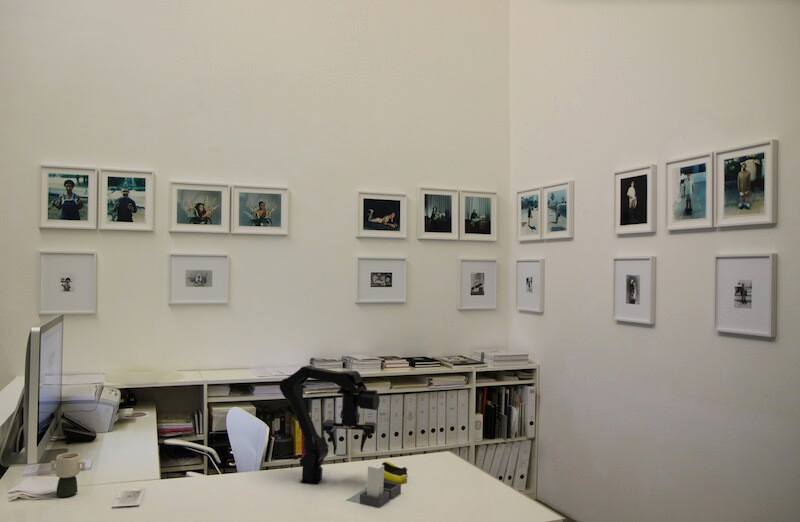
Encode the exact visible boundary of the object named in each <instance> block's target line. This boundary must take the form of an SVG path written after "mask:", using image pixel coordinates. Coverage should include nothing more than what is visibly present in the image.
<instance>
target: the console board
mask: <svg viewBox="0 0 800 522" xmlns="http://www.w3.org/2000/svg"><path fill="white" fill-rule="evenodd" d="M401 494H402V484H396V483H391V482H386V481H384V485H383V495H381V496H380V497H374V496H370V495H367V487H366V488H364V489H362V490H361V491H359V492H357V493H356V494H353V495H352V496H351V497H349V498H347V499H345V501H346V502H350V503H355V504H359V505H364V506H368V507H371V508H378V509H380V508H382V507H384V506H385V505H386V504H388V503H390V502H391V501H392V500H394V499H395V498H396V497H398V496H399V495H401Z"/></svg>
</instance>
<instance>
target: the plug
mask: <svg viewBox="0 0 800 522" xmlns="http://www.w3.org/2000/svg"><path fill="white" fill-rule="evenodd" d="M366 477H367V479H366V480H367V483H366V484H367V485H366V488H367V495H370V496H374V497H380V496H381V495H383V485H384V465H382V464H379V463H375V462H373V463H372V464H369V465H368V466H367V476H366Z"/></svg>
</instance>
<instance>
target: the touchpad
mask: <svg viewBox="0 0 800 522" xmlns="http://www.w3.org/2000/svg"><path fill="white" fill-rule="evenodd" d="M145 490H146V488H137V489H135V488H134V489H120V490H119V492H118V494H117V497H116V499H115V501H114V503H113V505H112V507H113V508H114V507H115V508H116V507H128V506H140V504H141V501H142V500H143V496H144V493H145Z"/></svg>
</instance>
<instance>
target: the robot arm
mask: <svg viewBox="0 0 800 522" xmlns="http://www.w3.org/2000/svg"><path fill="white" fill-rule="evenodd" d="M308 379H312V380H318V381H322V382H327V383H332V384H335V385H336V386H338V387H340V389H338V390H337V392H336V394H340V395H342V399H341V400H342V401H341V403H342V405H341V411H340V415H339V416H340V419H341V422H337V420H336V419H326V420H325V421H323V423H322V426H321V430H322V431H323V432H325V434H328V435H329V438H330V440H331V444H332V445H333V447H334V451H337V449H338V441H337V429H339V430H340V429H341V430H342V429H343V430H354V431H355V430H356V431H363V432H362V434H361V441H360V452H361V453H362V452H363V449H364V446H365V443H366V441H367V439H368V437H370V436H372V435H373V434H375V433H376V431H377V423H376V422H374V421H373V422H372V421H365V422H364V424H361V423H360V417H361V416H360V415H361V414H360V413H359V409H364V410H370V411H371V410H372V411H377V410H378V409H379V407H380V400H381V399H380V396H379V394H378V390H376V389H371V390H370V389H368V388H367V386H366V384H365V383H364V381H363V379H362V375H361V374H360V372H359V371H357V370H344V371H343V370H342V371H341V370H340V371H338V370H332V369H326V368H322V367H321V368H320V367H314V366H311V365H305V366H302V367H300V368H299V369H298V370H297V371H295V372H294V373H293V374H291V375H290V376H288V377H286V378H283V379H282V380H281V381H280V383H279V391H280V392H281V394H282V395H283V397H284V398H285V400H287V401H288V403H290V405H291V409H292V410H293V413H294V416H295V418H296V420H297V423H298V425H299V429H300V431H301V433H302V436H303V438H304V447H303V448H304V452H305V454H304V455H303V456H302V457H301V458H300V459H299V465H300V466H301V467H302V471H301V472H302V473H301V474H302V475H301V477H302V478H301V480H300V484H301V483H302V484H311V485H312V484H313V485H318V484H319V483H320V481H322V479H323V467H322V462H324V460H325V458H327V457H328V454H329V445H328V443H327V439H326V437H325V436H322V437H321V435H319V434H318V432H317V430H316V428H315V424H314V423H313V419H312V417H311V414H310V412H309V410H308V408H307V405H306V402H305V400H304V387H303V384H305V383H306V382H307V380H308ZM359 423H360V424H359Z"/></svg>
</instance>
